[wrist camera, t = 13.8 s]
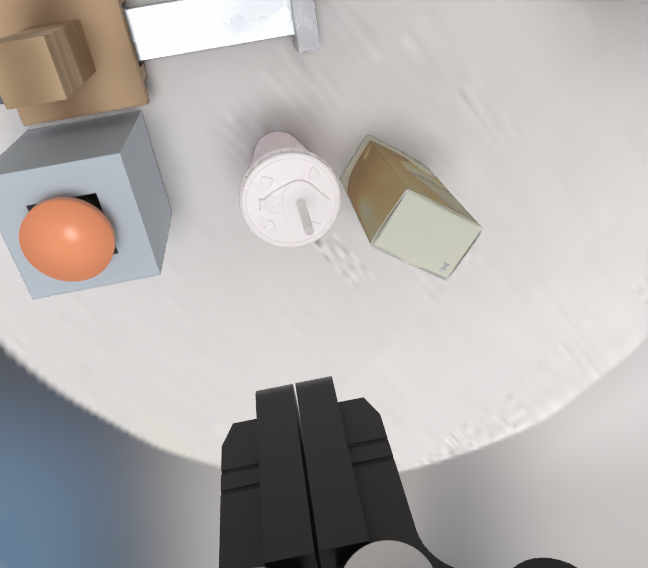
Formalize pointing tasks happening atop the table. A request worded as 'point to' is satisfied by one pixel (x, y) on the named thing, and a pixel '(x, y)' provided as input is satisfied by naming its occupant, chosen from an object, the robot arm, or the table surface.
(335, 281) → the table surface
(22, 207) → the grey button box
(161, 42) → the rail
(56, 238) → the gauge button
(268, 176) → the smoothie
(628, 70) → the table surface
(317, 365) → the table surface
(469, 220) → the skincare box
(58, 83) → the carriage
